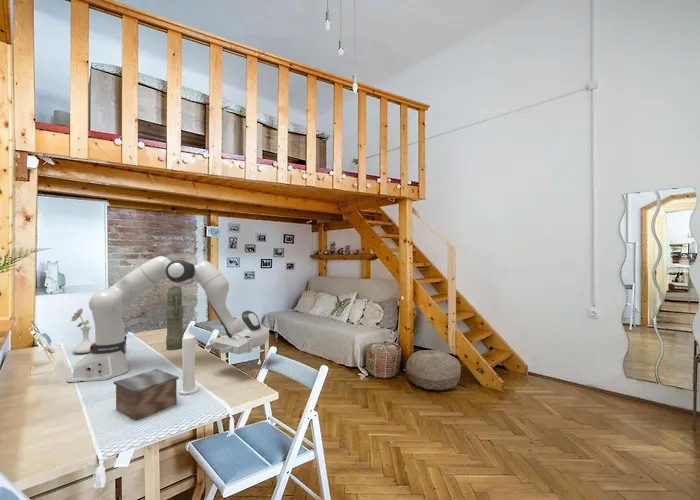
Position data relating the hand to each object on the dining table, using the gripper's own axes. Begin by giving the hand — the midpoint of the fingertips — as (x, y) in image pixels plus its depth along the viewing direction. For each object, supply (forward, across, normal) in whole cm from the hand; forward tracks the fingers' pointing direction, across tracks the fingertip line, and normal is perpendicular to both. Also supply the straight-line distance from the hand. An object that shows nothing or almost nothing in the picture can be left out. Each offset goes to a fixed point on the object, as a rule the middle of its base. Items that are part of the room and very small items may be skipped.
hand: (213, 349), depth 145 cm
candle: (+11, 0, +14) cm, 18 cm away
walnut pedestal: (+27, 0, +14) cm, 31 cm away
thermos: (-19, -63, +14) cm, 68 cm away
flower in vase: (+13, -98, +14) cm, 99 cm away
